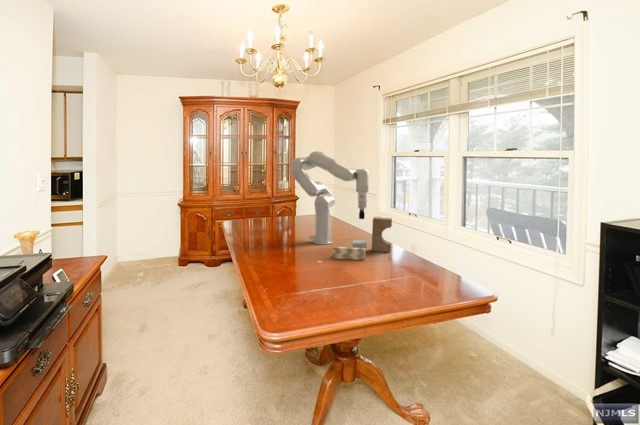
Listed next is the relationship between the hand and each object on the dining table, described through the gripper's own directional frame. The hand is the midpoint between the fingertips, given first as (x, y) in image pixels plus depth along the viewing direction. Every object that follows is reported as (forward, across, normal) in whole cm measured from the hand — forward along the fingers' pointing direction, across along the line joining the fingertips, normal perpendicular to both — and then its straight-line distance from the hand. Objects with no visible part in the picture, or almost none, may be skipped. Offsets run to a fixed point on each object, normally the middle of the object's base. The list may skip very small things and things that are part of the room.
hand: (361, 218), depth 225 cm
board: (+18, -26, +6) cm, 32 cm away
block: (+18, -10, +1) cm, 21 cm away
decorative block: (+18, -6, -12) cm, 23 cm away
